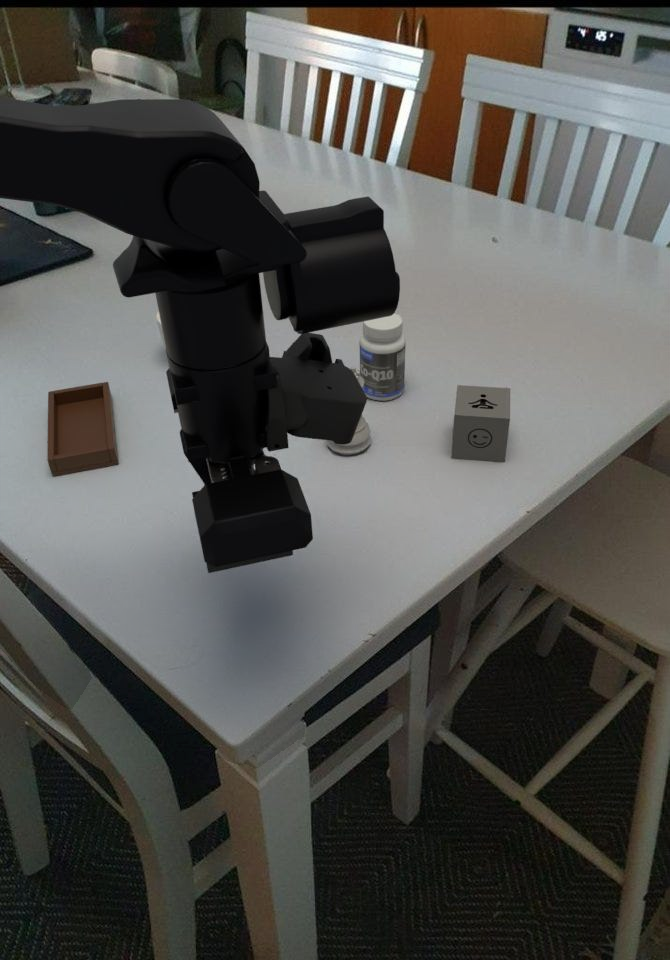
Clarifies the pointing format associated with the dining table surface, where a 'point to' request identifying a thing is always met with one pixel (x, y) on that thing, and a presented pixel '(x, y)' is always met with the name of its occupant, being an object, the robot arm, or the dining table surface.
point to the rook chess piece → (361, 433)
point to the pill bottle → (383, 358)
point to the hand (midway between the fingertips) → (245, 540)
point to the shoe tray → (81, 429)
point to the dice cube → (481, 423)
